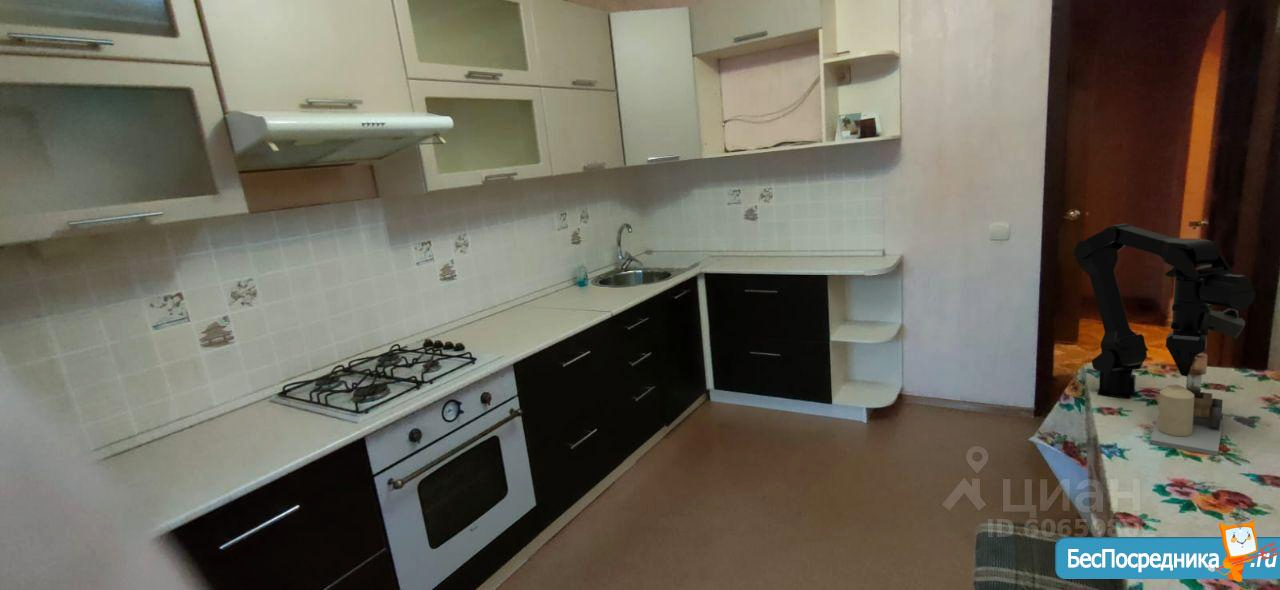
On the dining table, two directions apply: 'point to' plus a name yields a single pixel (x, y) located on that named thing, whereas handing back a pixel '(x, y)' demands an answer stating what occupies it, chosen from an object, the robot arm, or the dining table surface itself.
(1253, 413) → the dining table surface
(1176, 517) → the dining table surface
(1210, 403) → the trolley
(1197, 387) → the stop pin
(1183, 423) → the candle
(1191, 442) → the ramp board
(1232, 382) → the dining table surface
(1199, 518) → the dining table surface
